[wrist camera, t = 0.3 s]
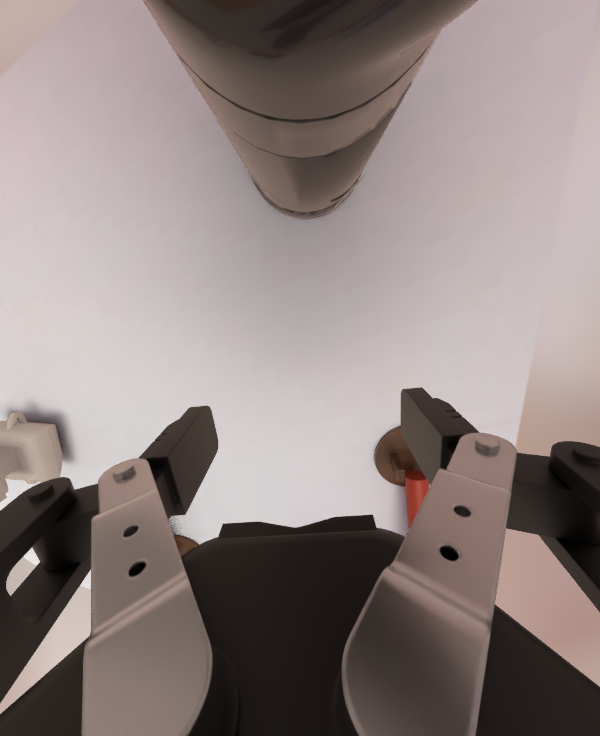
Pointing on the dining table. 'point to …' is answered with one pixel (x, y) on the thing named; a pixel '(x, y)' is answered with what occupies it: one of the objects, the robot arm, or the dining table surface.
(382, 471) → the lever base
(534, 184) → the dining table surface
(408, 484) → the red lever
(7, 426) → the stamp
